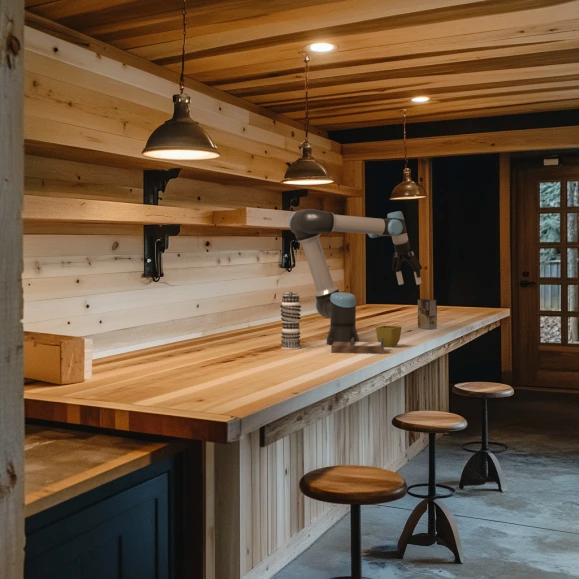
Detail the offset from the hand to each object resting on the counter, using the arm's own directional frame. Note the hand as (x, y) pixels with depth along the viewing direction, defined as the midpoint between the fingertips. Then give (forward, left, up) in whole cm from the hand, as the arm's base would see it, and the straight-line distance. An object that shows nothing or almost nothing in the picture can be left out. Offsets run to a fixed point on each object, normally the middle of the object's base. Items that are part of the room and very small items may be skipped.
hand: (410, 284), depth 368 cm
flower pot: (-10, -38, -27) cm, 48 cm away
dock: (-23, -54, -26) cm, 65 cm away
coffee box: (+11, +40, -27) cm, 49 cm away
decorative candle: (-53, -49, -27) cm, 77 cm away
